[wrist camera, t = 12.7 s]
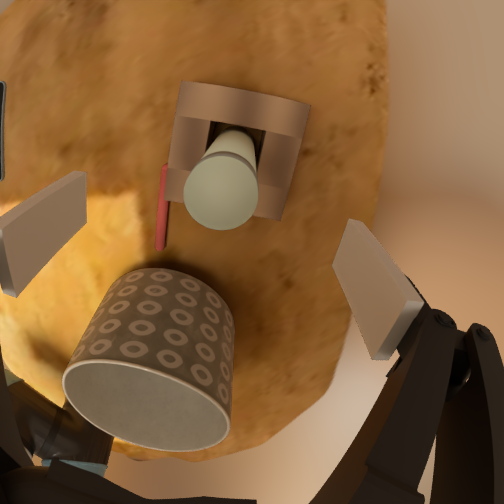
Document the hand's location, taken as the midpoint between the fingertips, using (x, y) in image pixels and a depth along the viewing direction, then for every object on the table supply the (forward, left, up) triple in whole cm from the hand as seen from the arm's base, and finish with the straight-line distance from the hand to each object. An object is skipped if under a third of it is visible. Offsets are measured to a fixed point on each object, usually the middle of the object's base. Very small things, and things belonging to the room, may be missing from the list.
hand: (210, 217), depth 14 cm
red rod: (-7, -9, -20) cm, 23 cm away
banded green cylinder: (0, 0, -20) cm, 20 cm away
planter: (-5, -25, -21) cm, 32 cm away
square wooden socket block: (0, 0, -20) cm, 20 cm away
